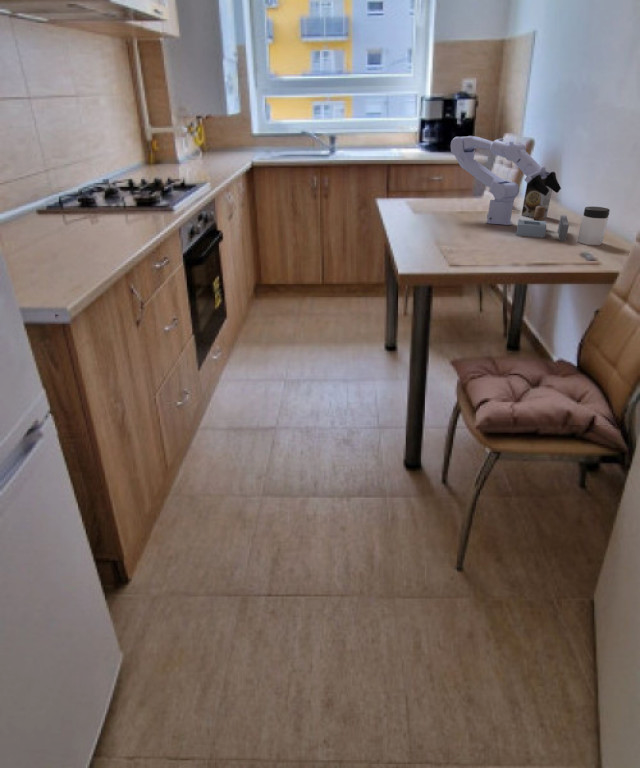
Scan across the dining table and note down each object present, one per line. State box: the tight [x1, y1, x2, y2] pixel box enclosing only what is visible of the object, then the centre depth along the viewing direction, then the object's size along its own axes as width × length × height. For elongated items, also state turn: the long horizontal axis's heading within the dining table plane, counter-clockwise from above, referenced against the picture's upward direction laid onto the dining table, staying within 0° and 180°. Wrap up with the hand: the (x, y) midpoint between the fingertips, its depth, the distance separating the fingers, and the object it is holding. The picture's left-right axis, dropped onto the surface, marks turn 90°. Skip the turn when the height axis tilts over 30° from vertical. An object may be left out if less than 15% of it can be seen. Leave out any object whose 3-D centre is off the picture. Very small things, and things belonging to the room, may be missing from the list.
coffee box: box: [520, 179, 553, 218], centre depth 246 cm, size 9×6×16 cm
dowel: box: [533, 206, 546, 221], centre depth 227 cm, size 4×4×8 cm
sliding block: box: [515, 218, 547, 238], centre depth 219 cm, size 10×10×4 cm
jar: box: [576, 206, 611, 246], centre depth 205 cm, size 9×8×12 cm
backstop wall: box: [557, 214, 570, 242], centre depth 215 cm, size 2×18×6 cm, turn 162°
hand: (553, 191), depth 215 cm, fingers open, 7 cm apart
